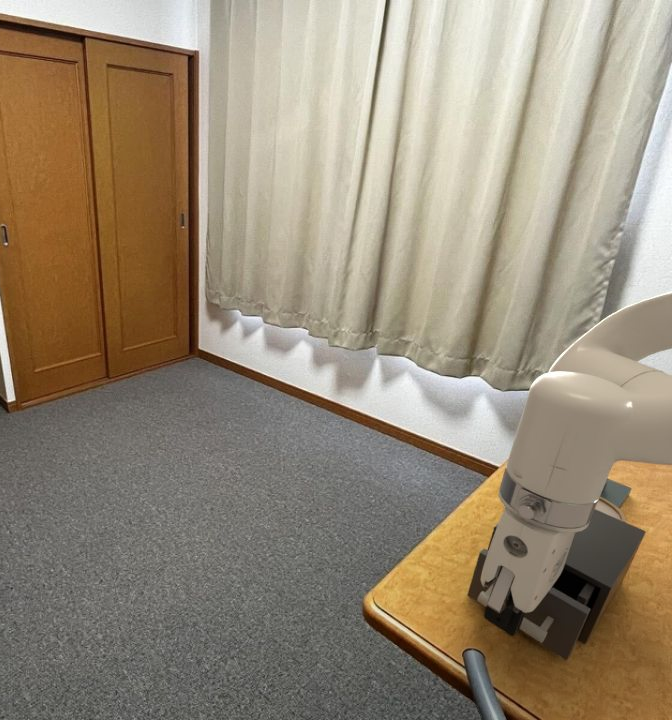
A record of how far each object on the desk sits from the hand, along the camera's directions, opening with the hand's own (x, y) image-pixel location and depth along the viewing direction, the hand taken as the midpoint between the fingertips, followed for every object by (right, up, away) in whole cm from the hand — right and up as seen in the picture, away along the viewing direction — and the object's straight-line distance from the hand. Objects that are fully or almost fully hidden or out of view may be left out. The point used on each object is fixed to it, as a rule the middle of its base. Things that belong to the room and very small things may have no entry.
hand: (500, 623), depth 54 cm
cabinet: (+15, -1, +13) cm, 20 cm away
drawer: (+9, -2, +8) cm, 13 cm away
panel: (+34, +7, +31) cm, 47 cm away
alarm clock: (+26, +3, +22) cm, 34 cm away
